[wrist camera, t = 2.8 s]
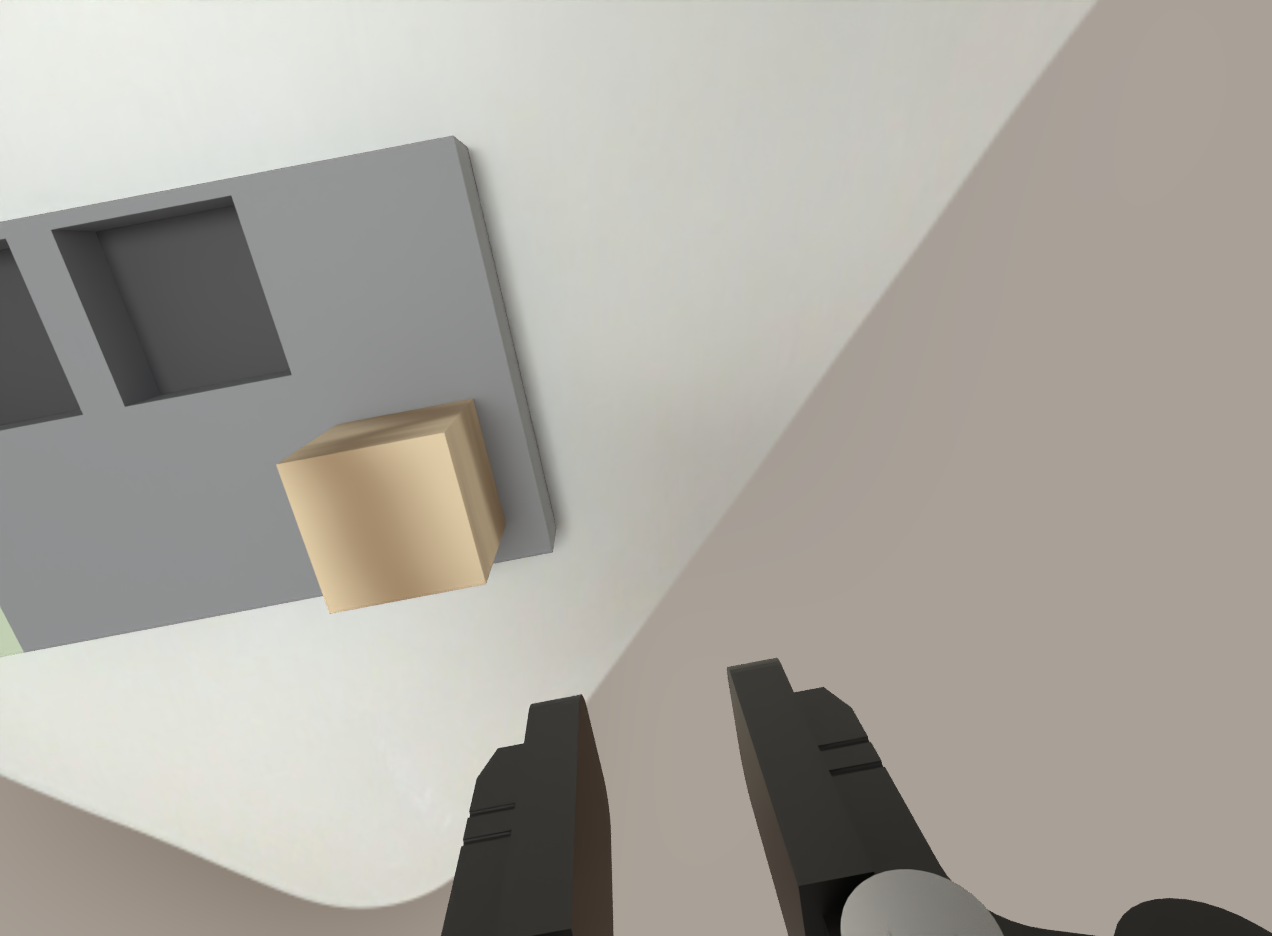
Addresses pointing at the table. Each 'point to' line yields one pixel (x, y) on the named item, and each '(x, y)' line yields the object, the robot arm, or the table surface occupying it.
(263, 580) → the trap deck
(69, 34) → the table surface
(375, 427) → the beech block
